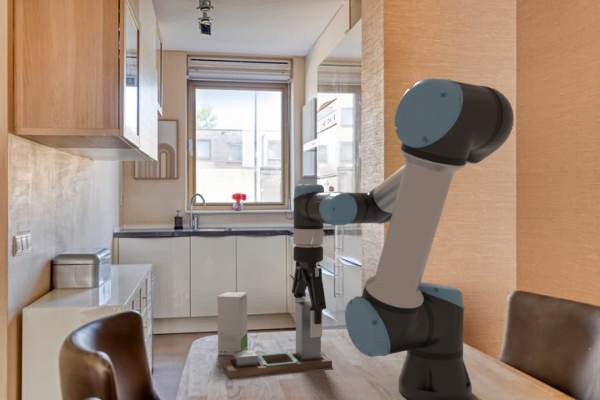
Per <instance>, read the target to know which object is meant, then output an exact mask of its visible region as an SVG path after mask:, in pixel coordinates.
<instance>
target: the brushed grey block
mask: <svg viewBox="0 0 600 400" xmlns="http://www.w3.org/2000/svg"><path fill="white" fill-rule="evenodd" d="M311 307H312V305H311V300H309V301H307V300H306V301H305V302H296V323H295V352H296V359H297V360H298V361H299V362H307V361H318V360H321V352H322V347H321V346H322V337H313V338H311V337H310V326H311V311H310V310H309V309H310V308H311Z"/></svg>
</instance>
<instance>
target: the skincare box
mask: <svg viewBox="0 0 600 400" xmlns="http://www.w3.org/2000/svg"><path fill="white" fill-rule="evenodd" d="M248 340H249V339H248V292H246V291H239V292H238V291H236V292H235V291H233V292H232V291H226V292H225V293H224V292H223V293H221V294H219V295H217V355H219V356H228V357H229V356H232V357H234V351H243V350H248V346H249V345H248V342H249V341H248Z"/></svg>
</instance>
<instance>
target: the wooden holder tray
mask: <svg viewBox="0 0 600 400" xmlns="http://www.w3.org/2000/svg"><path fill="white" fill-rule="evenodd" d="M285 361H286V362H285ZM277 362H278V363H277ZM222 363H223V364H222V365H223V367H224V369H225V372H226V374H227V375H228V378H229V379H231V378H239V377H247V376H257V375H258V376H260V375H265V374H269V375H270V374H278V373H284V372H286V373H288V372H295V371H296V372H298V371H305V370H307V371H308V370H314V369H315V370H316V369H326V368H333V360H332V359H331V358H329V356H327V354H325V353H323V352H322V351H321V360H318V361H307V362H299V361H298V360H297V359H296V351H294V352H293V351H292V352H288V351H286V352H276V353H275V352H274V353H265V354H264V353H263V354H258V366H257V367H247V368H236V369H234V357H229V358H223V361H222Z"/></svg>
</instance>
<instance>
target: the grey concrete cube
mask: <svg viewBox="0 0 600 400" xmlns="http://www.w3.org/2000/svg"><path fill="white" fill-rule="evenodd" d="M258 356H259V354H257V352H256V351H255V349H246V350H243V351H234V356H233V358H234V366H233V367H234V369H236V368H247V367H257V366H258Z"/></svg>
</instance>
